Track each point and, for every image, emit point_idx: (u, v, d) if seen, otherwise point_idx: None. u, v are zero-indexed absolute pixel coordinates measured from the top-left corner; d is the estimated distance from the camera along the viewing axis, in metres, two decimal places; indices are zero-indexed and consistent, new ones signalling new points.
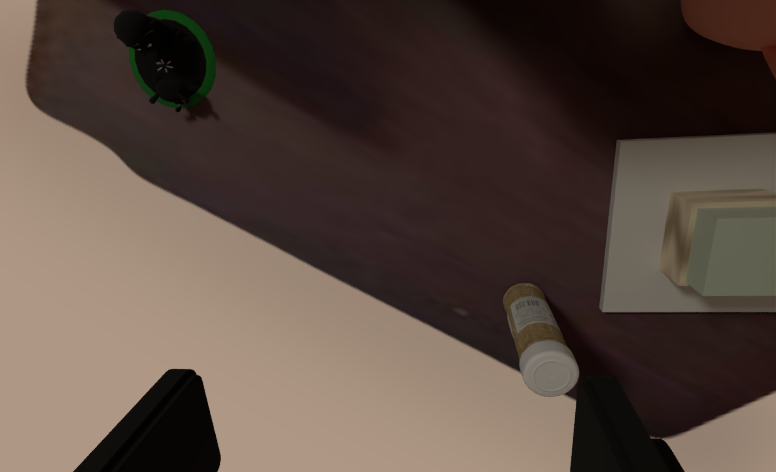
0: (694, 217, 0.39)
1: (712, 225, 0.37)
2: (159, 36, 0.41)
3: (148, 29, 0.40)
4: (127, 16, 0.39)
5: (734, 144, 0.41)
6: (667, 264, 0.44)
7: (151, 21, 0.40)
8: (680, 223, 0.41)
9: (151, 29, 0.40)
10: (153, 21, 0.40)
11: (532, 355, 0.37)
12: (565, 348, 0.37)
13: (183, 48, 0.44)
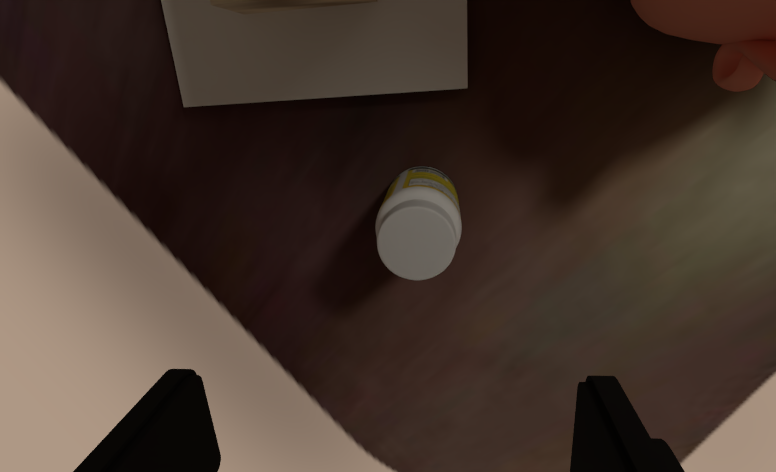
0: None
1: None
2: None
3: None
4: None
5: None
6: None
7: None
8: None
9: None
10: None
11: None
12: None
13: None
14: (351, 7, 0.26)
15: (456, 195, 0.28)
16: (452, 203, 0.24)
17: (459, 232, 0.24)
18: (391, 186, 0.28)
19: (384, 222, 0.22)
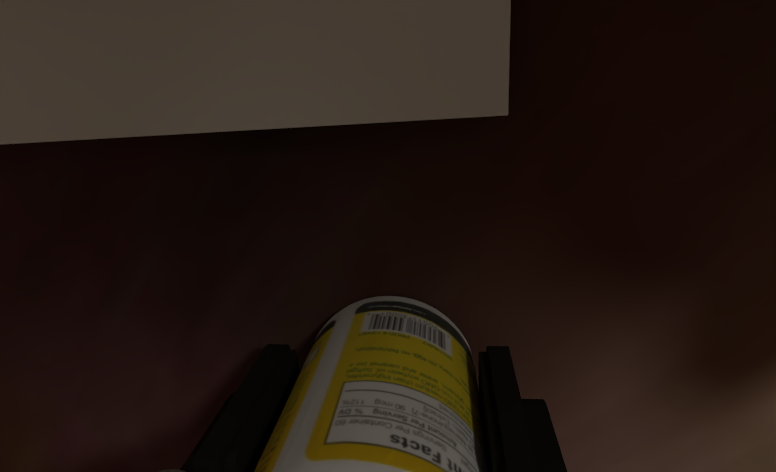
0: None
1: None
2: None
3: None
4: None
5: None
6: None
7: None
8: None
9: None
10: None
11: None
12: None
13: None
14: None
15: (474, 389, 0.11)
16: None
17: None
18: (307, 365, 0.11)
19: None
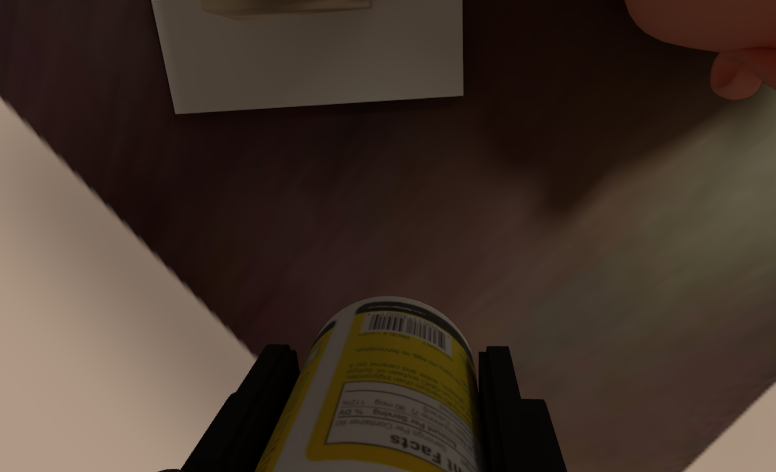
0: None
1: None
2: None
3: None
4: None
5: None
6: None
7: None
8: None
9: None
10: None
11: None
12: None
13: None
14: (345, 14, 0.25)
15: (474, 389, 0.11)
16: None
17: None
18: (307, 366, 0.11)
19: None
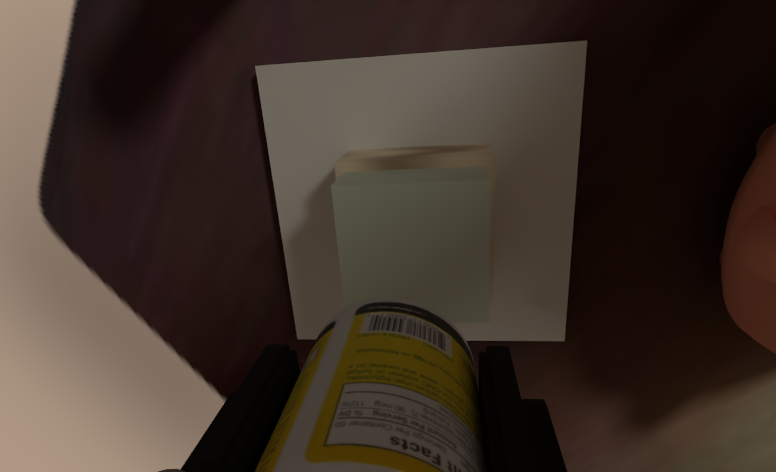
0: (467, 164, 0.22)
1: (471, 177, 0.20)
2: None
3: None
4: None
5: (560, 222, 0.26)
6: (363, 153, 0.25)
7: None
8: (446, 153, 0.23)
9: None
10: None
11: None
12: None
13: None
14: None
15: (474, 390, 0.11)
16: None
17: None
18: (306, 367, 0.11)
19: None
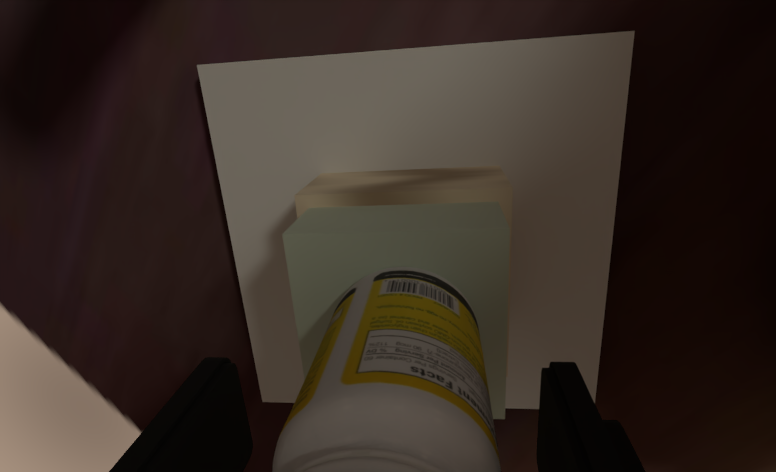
0: (474, 199, 0.16)
1: (482, 223, 0.14)
2: None
3: None
4: None
5: (592, 266, 0.21)
6: (337, 179, 0.19)
7: None
8: (446, 181, 0.17)
9: None
10: None
11: None
12: None
13: None
14: None
15: (479, 344, 0.12)
16: (478, 432, 0.08)
17: None
18: (333, 324, 0.12)
19: None
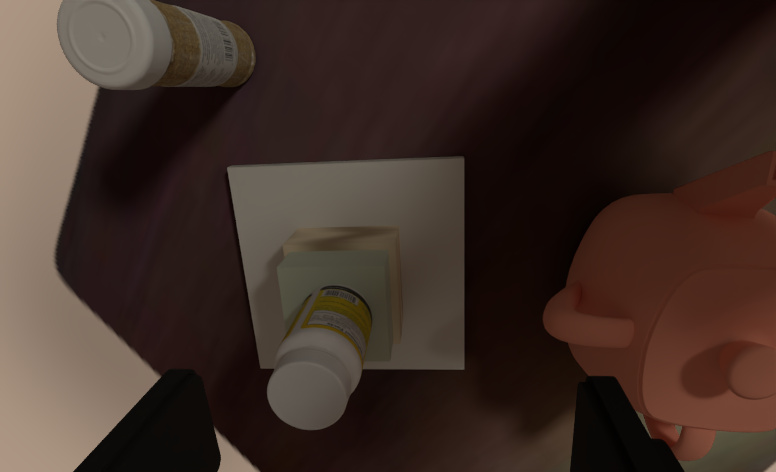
0: (376, 248, 0.31)
1: (373, 263, 0.29)
2: None
3: None
4: None
5: (454, 282, 0.36)
6: (306, 233, 0.34)
7: None
8: (364, 237, 0.32)
9: None
10: None
11: None
12: (161, 65, 0.21)
13: None
14: None
15: (366, 319, 0.27)
16: (350, 345, 0.23)
17: (358, 374, 0.24)
18: (300, 310, 0.27)
19: (273, 375, 0.22)
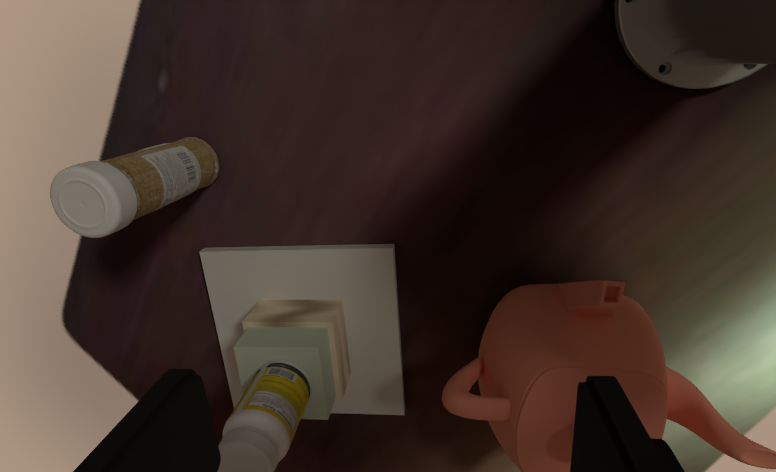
0: (317, 326, 0.38)
1: (310, 343, 0.35)
2: None
3: None
4: None
5: (391, 345, 0.42)
6: (264, 307, 0.41)
7: None
8: (310, 314, 0.39)
9: None
10: None
11: (106, 176, 0.27)
12: (129, 217, 0.28)
13: None
14: None
15: (301, 392, 0.34)
16: (279, 423, 0.30)
17: (286, 445, 0.30)
18: (249, 385, 0.34)
19: None
